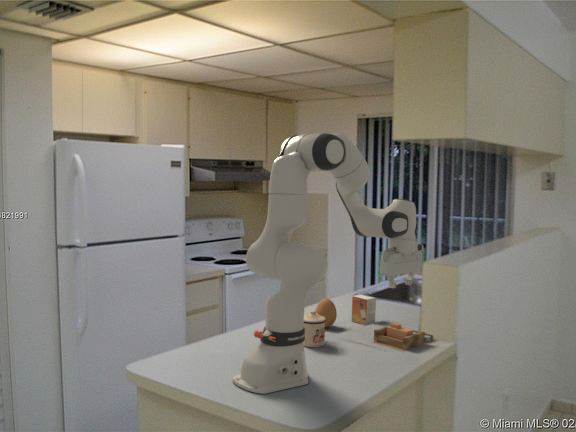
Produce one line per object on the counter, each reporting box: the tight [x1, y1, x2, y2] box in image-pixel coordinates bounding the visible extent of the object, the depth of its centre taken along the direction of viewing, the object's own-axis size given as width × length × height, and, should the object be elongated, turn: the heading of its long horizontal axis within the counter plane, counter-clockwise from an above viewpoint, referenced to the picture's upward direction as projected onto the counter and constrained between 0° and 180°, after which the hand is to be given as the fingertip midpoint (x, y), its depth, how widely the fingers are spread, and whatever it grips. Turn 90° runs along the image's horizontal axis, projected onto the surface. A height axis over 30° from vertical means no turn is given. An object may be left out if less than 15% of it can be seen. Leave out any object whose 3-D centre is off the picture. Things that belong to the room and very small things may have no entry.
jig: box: [372, 325, 436, 352], centre depth 192 cm, size 20×13×5 cm, turn 134°
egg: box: [315, 298, 338, 329], centre depth 212 cm, size 8×8×11 cm
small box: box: [351, 294, 377, 326], centre depth 220 cm, size 8×6×10 cm
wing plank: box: [413, 332, 432, 343], centre depth 196 cm, size 2×12×2 cm, turn 44°
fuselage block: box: [387, 322, 414, 341], centre depth 189 cm, size 4×8×6 cm, turn 44°
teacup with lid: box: [303, 310, 326, 348], centre depth 191 cm, size 12×9×12 cm
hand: (400, 286), depth 189 cm, fingers open, 8 cm apart
